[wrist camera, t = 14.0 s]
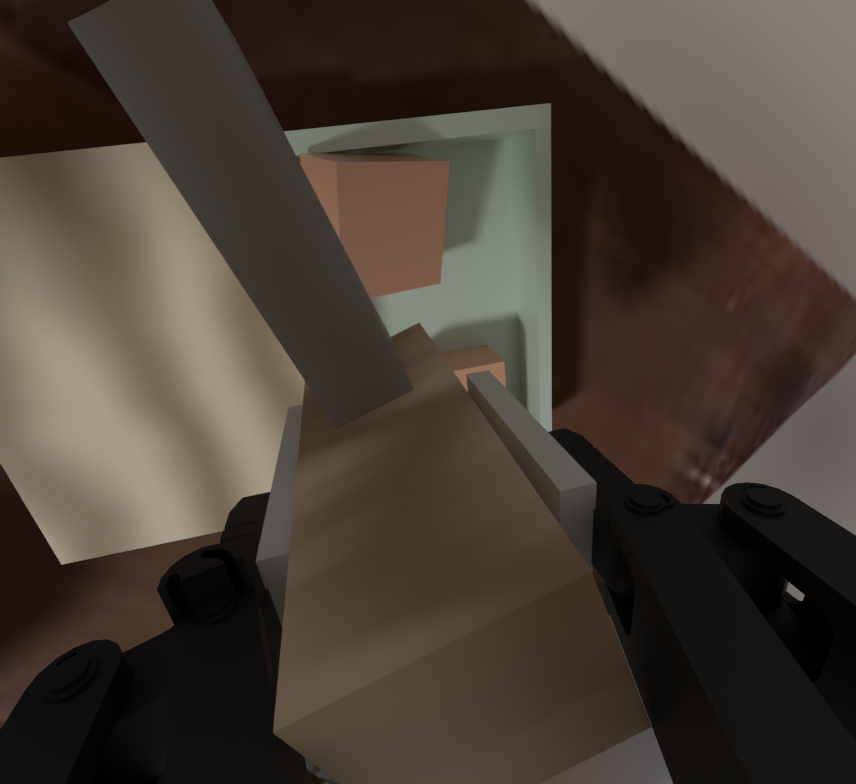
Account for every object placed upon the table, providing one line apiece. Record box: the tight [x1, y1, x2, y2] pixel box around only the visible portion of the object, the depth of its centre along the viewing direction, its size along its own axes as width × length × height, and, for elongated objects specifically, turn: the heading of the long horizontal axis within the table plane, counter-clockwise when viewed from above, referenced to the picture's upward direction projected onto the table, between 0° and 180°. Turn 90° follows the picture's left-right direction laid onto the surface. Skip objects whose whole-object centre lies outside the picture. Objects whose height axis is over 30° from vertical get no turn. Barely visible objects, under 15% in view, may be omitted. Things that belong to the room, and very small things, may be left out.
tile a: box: [441, 345, 506, 392], centre depth 29 cm, size 6×6×4 cm
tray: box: [284, 103, 552, 432], centre depth 27 cm, size 14×20×4 cm
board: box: [0, 142, 305, 565], centre depth 24 cm, size 16×20×5 cm
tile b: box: [299, 153, 450, 298], centre depth 22 cm, size 6×6×4 cm
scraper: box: [67, 0, 651, 784], centre depth 10 cm, size 4×20×10 cm, turn 25°
